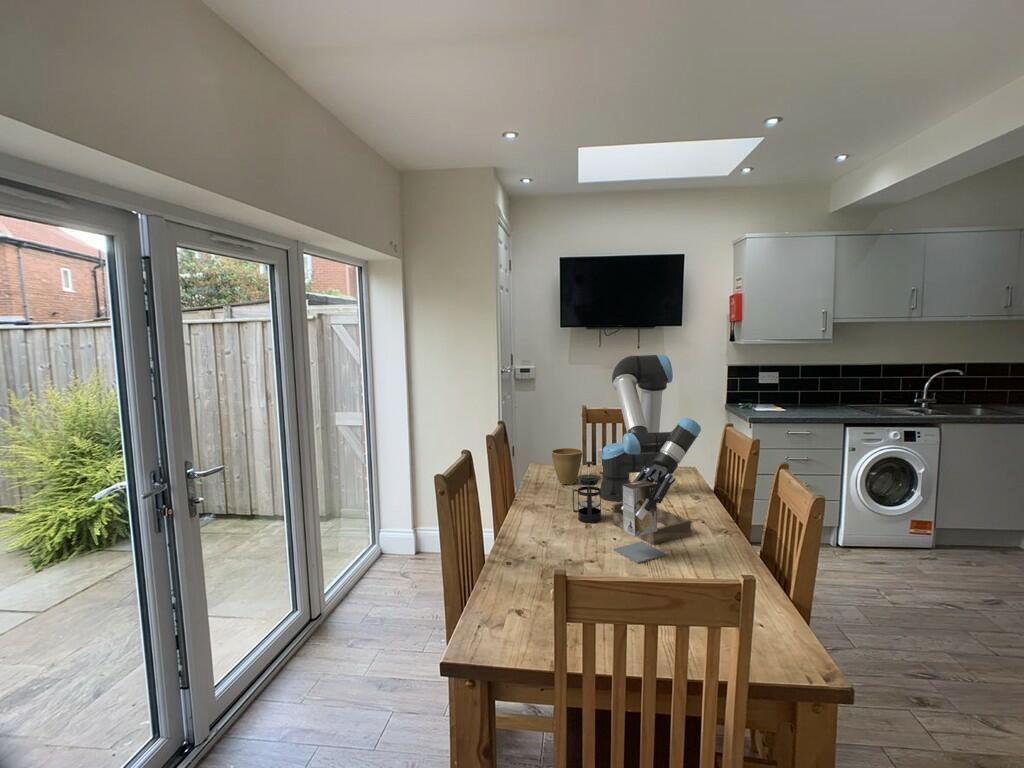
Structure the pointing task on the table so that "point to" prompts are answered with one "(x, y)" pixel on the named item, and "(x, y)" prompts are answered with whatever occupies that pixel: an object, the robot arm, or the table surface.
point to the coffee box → (631, 504)
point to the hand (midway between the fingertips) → (631, 514)
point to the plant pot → (567, 464)
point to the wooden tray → (672, 530)
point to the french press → (588, 498)
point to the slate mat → (640, 552)
